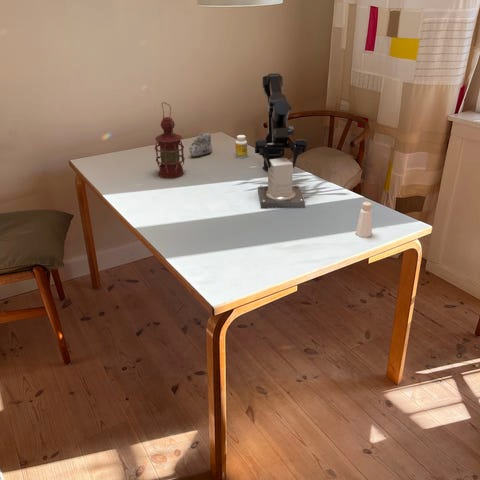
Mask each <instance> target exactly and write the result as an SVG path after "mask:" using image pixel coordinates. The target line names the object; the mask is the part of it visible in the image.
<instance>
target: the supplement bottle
mask: <svg viewBox="0 0 480 480" xmlns="http://www.w3.org/2000/svg"><path fill="white" fill-rule="evenodd" d="M246 137H247V136H246V135H244V134H238V135H236V141H235V142H234V143H235V157H236V158H237V157H238V159H245V158H247V157H248V141H247V138H246Z"/></svg>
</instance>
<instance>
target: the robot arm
mask: <svg viewBox="0 0 480 480" xmlns="http://www.w3.org/2000/svg"><path fill="white" fill-rule="evenodd" d="M283 86H284V77H283V76H282V75H281V73H279V72H278V73H268V74H267V75H265V76H262V79H261V88H262V89H263V95H265V98H266V99H267V100H266V101H267V135H266V137H265V139H256V140H255V142H254V153H255V154H258V155H259V156H262V159H263V167H262V169H263V170H264V171H266V172H268V167H269V168H270V160H269V159H278V158H284V156H285V150H286V149H293V152H292V153H293V155H292V158H293V159H292V164H293V169H295V166H296V162H297V159H298V157H299V155H302V153H306V151H307V146H308V141H307V140H306V139H305V138H303V139H302V138H300V139H297V138H296V139H295V141H294V142H289V141H290V137H291V136H294V134H295V129H294V125H289V126H288V118H289V114H290V111H291V110H292V105H291V104H290V103H289V102H290V101H288V99H287V96H286V95H285V94H284V93H283V90H282V88H283Z"/></svg>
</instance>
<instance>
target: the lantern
mask: <svg viewBox="0 0 480 480" xmlns="http://www.w3.org/2000/svg"><path fill="white" fill-rule="evenodd" d="M164 104H165V105H167V106H168V107H169V108H170V109H169V116H165V111H164V106H163V105H164ZM161 109H162V113H163V115H162V120H161V121H160V125H159V126H160V128H161V129H162V130H163V133H161V134H159V135H157V136H156V137H155V141H156V143H155V146H154V150H155V153H156V154H155V155H156V157H155V162H156V164H157V166H158V168H159V172H158V177H161V178H163V179H178V178H180V177H182V176H183V175H184V174H185V173H184V169H183V166H184V165H185V155H184V148H185V146H184V145H183V142H182V141H181V140H182V139H183V136H181V135H180V134H177V133H175V132H174V128H175V125H176V124H175V121H174V120H173V118H172V117H171V115H172V107H171V105H170V104H169V103H167V102H166V101H163V102H162V103H161ZM179 146H180V147H179ZM158 147H159V149H158ZM180 151H181V152H180ZM158 152H159V153H158ZM180 153H181V154H180ZM159 154H160V156H159ZM180 158H181V160H180ZM159 159H160V161H159Z"/></svg>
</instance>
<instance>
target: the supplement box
mask: <svg viewBox="0 0 480 480" xmlns="http://www.w3.org/2000/svg"><path fill="white" fill-rule="evenodd" d="M269 160H270V168H269V167H268V171H267V187H268V191H269V192H270V194H271V195H272V196H273V197H274V198H275V197H284V196H292V186H293V172H294V171H293V170H294V168H293V162H292V161H291V160H289V158H288V157H281V158H278V159H269Z"/></svg>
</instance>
